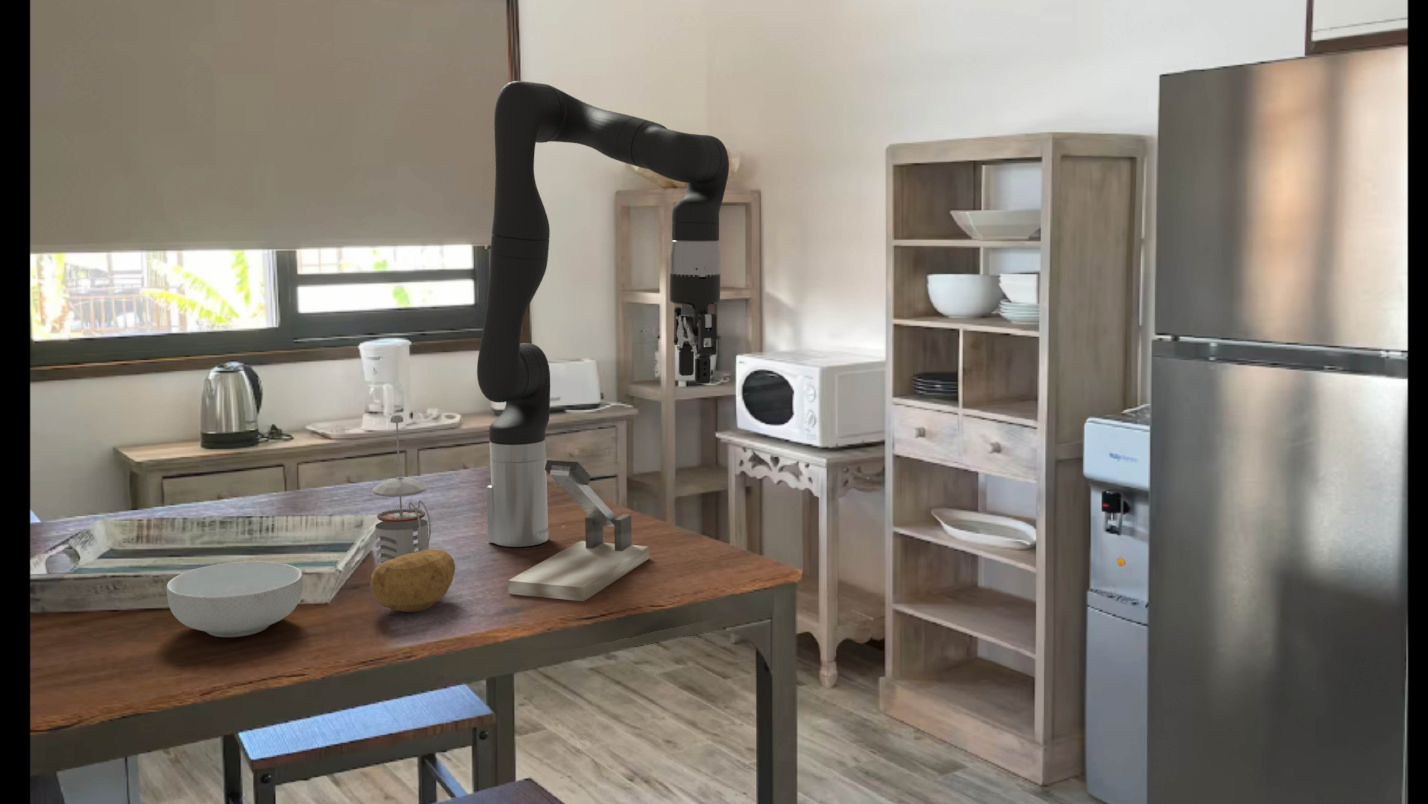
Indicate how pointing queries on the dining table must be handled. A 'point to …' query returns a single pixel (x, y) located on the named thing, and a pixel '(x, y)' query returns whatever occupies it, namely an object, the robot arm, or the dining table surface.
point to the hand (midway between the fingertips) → (694, 379)
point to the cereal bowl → (235, 596)
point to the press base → (583, 565)
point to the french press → (401, 516)
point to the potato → (413, 580)
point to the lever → (580, 490)
